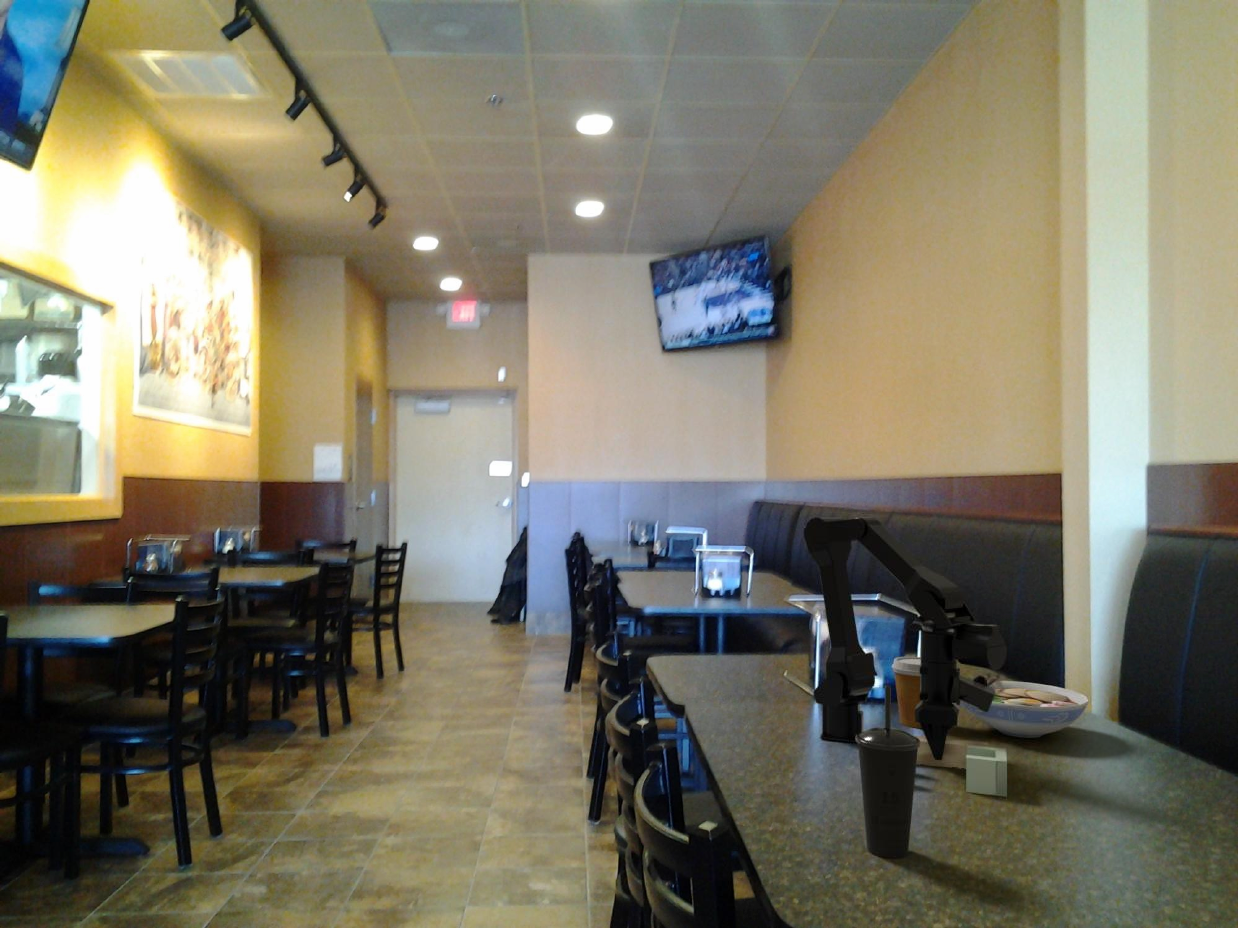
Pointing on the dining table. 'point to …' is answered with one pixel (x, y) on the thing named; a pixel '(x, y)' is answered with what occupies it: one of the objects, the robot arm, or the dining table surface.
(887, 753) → the drinking cup
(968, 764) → the right end cap
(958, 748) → the slat
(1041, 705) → the ramen bowl
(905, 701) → the disposable coffee cup
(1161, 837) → the dining table surface
